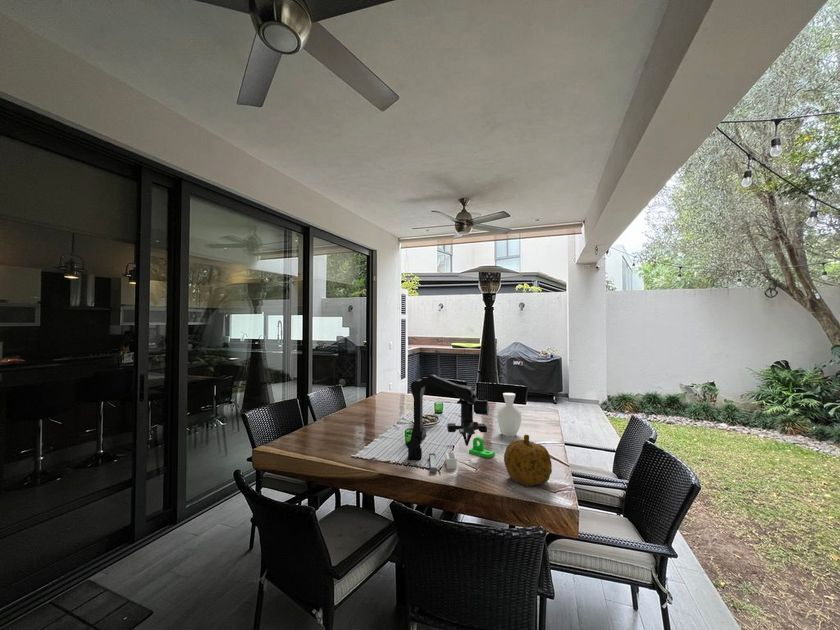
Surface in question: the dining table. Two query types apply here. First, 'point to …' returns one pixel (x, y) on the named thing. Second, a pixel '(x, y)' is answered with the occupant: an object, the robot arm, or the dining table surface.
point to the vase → (509, 416)
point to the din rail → (432, 463)
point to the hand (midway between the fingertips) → (466, 445)
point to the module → (451, 461)
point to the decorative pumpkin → (527, 462)
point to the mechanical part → (480, 449)
